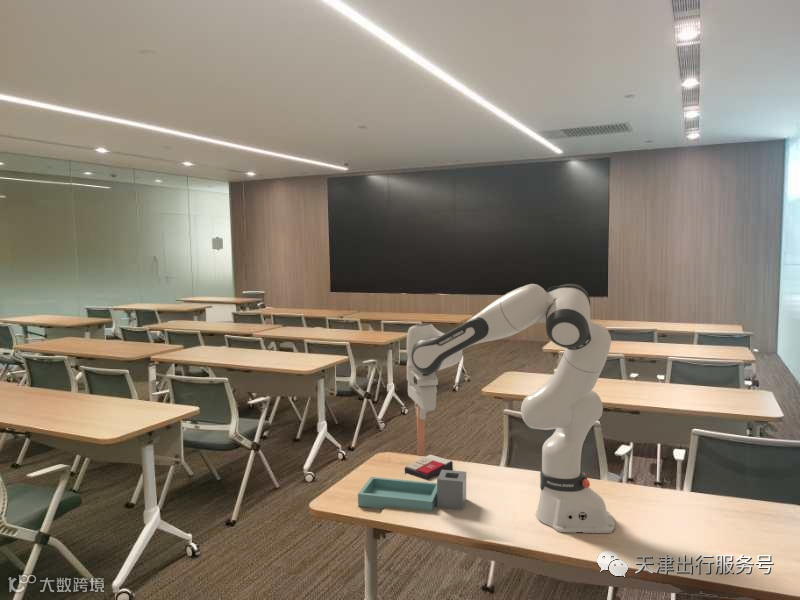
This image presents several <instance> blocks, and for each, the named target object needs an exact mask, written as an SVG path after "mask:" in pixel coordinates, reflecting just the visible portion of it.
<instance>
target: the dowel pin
mask: <svg viewBox="0 0 800 600" xmlns="http://www.w3.org/2000/svg"><path fill="white" fill-rule="evenodd" d="M419 413H420V407H419V406H418V405H417V415H416V448H417V449H416V451H417V452H416V454H417V456H419V457H422V456H425V455H426V453H425V452H426V451H425V449H426V447H425V445H426V444H425V443H426V442H425V438H426V437H425V435H426V433H425V432H426V431H425V426H426V425H425V420H426V419H425V420H421V419H420V418H419Z"/></svg>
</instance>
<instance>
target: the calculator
mask: <svg viewBox="0 0 800 600" xmlns="http://www.w3.org/2000/svg"><path fill="white" fill-rule="evenodd" d="M453 464H454V462H453V461H452V460H449V459H446V458H442V457H440V456H436V455H433V454H429V455H426V456H424V457H421V458H420V459H418V460H415V462H414V461H413V462H412V463H410V464H408V465H406V466H405V467H404V475H406V474H409V475H412V476H415V477H418V478H421V479H424V480H430V479H433V478H434V477H438V476H439V474H440V472H441V470H452V471H454V470H453V469H454V465H453Z"/></svg>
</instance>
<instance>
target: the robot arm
mask: <svg viewBox="0 0 800 600" xmlns="http://www.w3.org/2000/svg"><path fill="white" fill-rule="evenodd" d="M589 296H590V295H589V293H588V292H587V290H585V288H584V287H582V286H581V285H579V284H575V283H565V284H561V285H557V286H555V285H554V286H553V285H552V286H550V287H548V289H547V290H545V289H544V288H543V287H542V286H540V285H539V284H537V283H536V284H535V283H530V284H526V285H524V286H520V287H517V288H515V289H513V290H511V291H509V292H506V294H503V295H502V296H500V297H499V298H497V299H495V300H494V301H493V302H491V303H490V304H489V305H487V306H485V307H484V308H483V309H482V310H481V311H479V312H477V314H475V315H474V316H472V317H471V318H469V319H467V321H465V322H464V323H462V324H460V325H459V326H457V327H455V328H453V329H451V330H449V331H448V332H446V333H444V332H442V331H440V330H438V329H437V328H436V327H435V326H434V325H433V324H432V323H426V322H425V323H420V324H415V325H411V326H410V327H409V328H408V330H407V335H406V355H407V360H406V361H407V362H406V381H407V395H408V398H410V399H411V400H412V401H413V402H414V408H415V415H416V416H417V405H418V406H419V407H420V413H419V418H420V419H421V420H426V419H427V412H432V411H435V409H436V406H437V386H438V385H439V379H438V376H437V375H436V372H437V371H441V370H443V369H447V368H450V367H453V366H455V365H457V364H458V363H460V361H461V360H462V358H463V353H464V350H465V349H467V348H468V347H471V346H474V345H477V344H481V343H487V342H490V341H496V340H497V341H498V340H501V339H505V338H508V337H510V336H511V337H512V336H515V335H516V334H518V333H520V332H522V331H524V330H526V329H527V328H530V327H531V326H532V325H535V324H536V325H537V324H543V323H544V324H545V331H546V335H547V337H548V339H549V340H550V341H551V342H552V343H553V344H555V345H556V346H559V347H560V348H565V349H564V352H563V354H562V356H561V359H560V361H559V363H558V365H557V368H556V370H555V371H554V373H553V374H552V375H551V376H550V378H549V379H548V380H547V381H546V382H545V383H544V384H543V385H541V387H539V388H538V389H537V390H536V391H533V393H530V394H529V395H527V396H525V397H524V399H523V401H522V403H521V406H520V414H521V417H522V421H523V422H524V423H525V425H526V426H527V427H529V428H530V429H533V430H542V431H543V430H544V431H549V430H555V431H554V432H553V434H552V435H551V436H550V437H548V438H547V439H546V440H545V442H544V443H543V444H542V447H541V453H542V454H541V469H540V474H539V487H540V493H539V494H540V495H539V499H538V500H539V501H538V505H537V509H536V512H535V517H536V518H537V519H538V521H540V522H541V523H543V524H544V525H547V526H549V527H551V528H553V529H554V530H555V531H557V532H560V533H576V532H583V534H584V533H586V534H588V533H589V534H590V533H591V534H611V533H613V532H614V531H615V529H614V528H616V523H615V518H614V517H613V515H612V513H611V512H610V511H609V510H607V507H606V502H605V501H604V499H603V497H602V496H601V495H600V494H598V493H597V492H596V491H594V490H593V489H592V488H590V486H591V483H590V481H589V479H588V476H587V475H586V473H585V472H581V460H582V450H583V445H584V442H585V440H586V437H587V435H588V433H589V431H590V430H591V428H592V427H593V426H594V424H595V423H597V421H599V420H600V419H601V417H602V415H603V410H604V407H603V402H602V399H601V397H600V396H599V395H598V393H597V392H595V390H594V388H595V386H596V384H597V381H598V379H599V378H600V375H601V373H602V371H603V368H604V366H605V364H606V362H607V359H608V356H609V352H610V349H611V343H612V337H611V334H610V332H609V330H607V328H605V327H604V326H603V325H601V324H598V323H594V322H593V321H592V320H591V300H590V299H591V298H590V297H589ZM613 530H614V531H613ZM612 531H613V532H612Z"/></svg>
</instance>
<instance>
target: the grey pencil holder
mask: <svg viewBox="0 0 800 600" xmlns="http://www.w3.org/2000/svg"><path fill="white" fill-rule="evenodd" d="M436 479H437V480H436V483H437V501H436V505H437V506H436V508H439V509H447V510H448V509H450V510H459V511H464V508H465V504H466V501H467V471H462V470H460V471H459V470H441V472H440V474H439V476H437V478H436Z"/></svg>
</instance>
